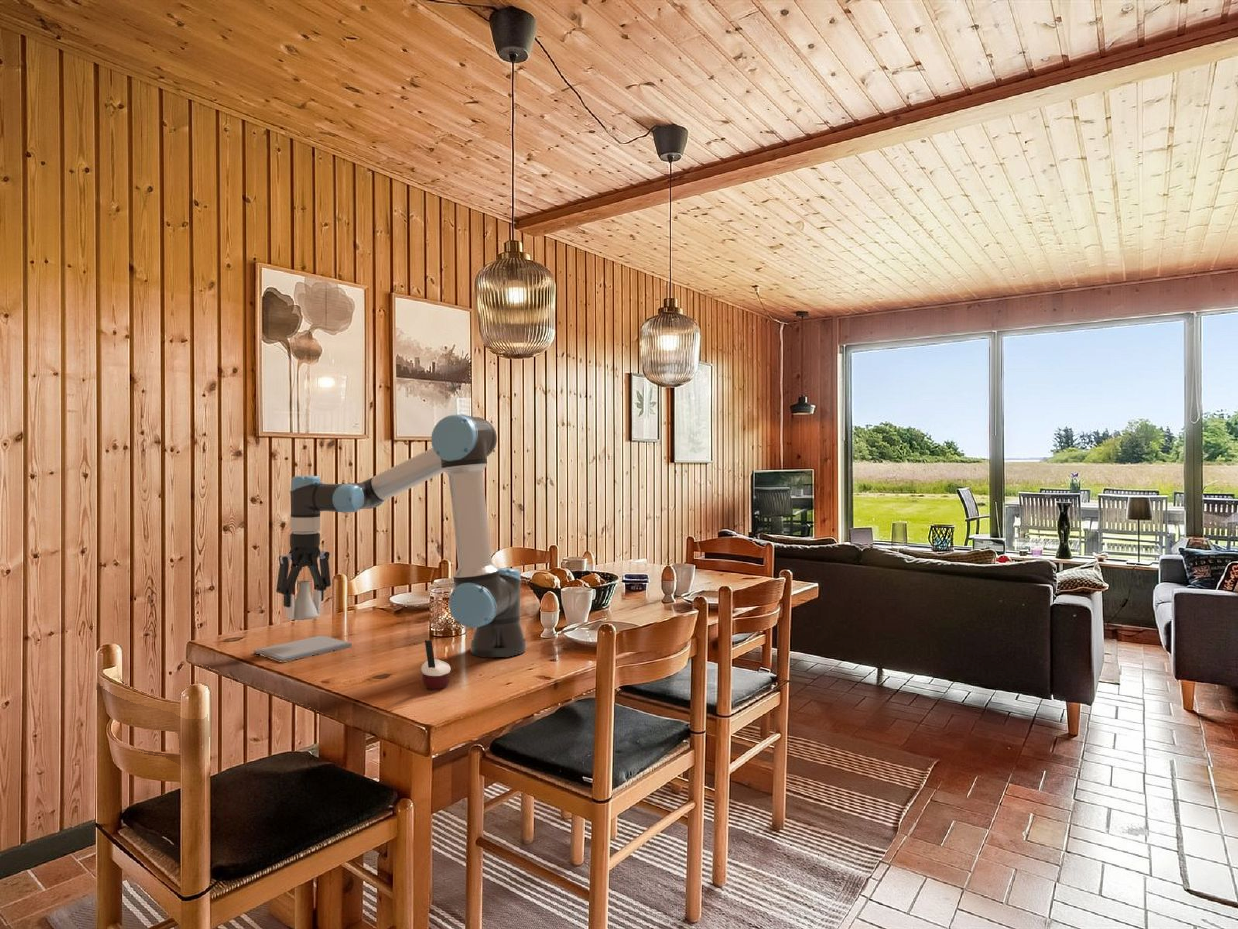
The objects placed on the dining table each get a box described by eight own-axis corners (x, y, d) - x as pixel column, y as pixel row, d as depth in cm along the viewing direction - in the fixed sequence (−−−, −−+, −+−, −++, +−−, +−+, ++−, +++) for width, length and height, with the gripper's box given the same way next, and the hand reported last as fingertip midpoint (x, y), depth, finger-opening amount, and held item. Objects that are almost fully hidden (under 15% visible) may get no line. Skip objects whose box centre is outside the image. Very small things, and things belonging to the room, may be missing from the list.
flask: (323, 617, 194) (324, 580, 193) (302, 622, 187) (302, 585, 187) (305, 614, 197) (305, 578, 196) (282, 619, 190) (283, 582, 190)
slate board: (351, 646, 196) (351, 642, 196) (282, 663, 180) (282, 659, 180) (322, 638, 204) (322, 634, 204) (253, 653, 188) (253, 649, 188)
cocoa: (439, 682, 169) (440, 631, 169) (459, 685, 165) (460, 634, 166) (409, 691, 160) (410, 638, 161) (429, 695, 157) (430, 641, 158)
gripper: (330, 528, 202) (328, 608, 202) (261, 534, 185) (260, 620, 186) (346, 530, 198) (344, 611, 198) (277, 536, 181) (275, 625, 181)
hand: (303, 616), depth 192 cm, fingers closed on flask, 7 cm apart
